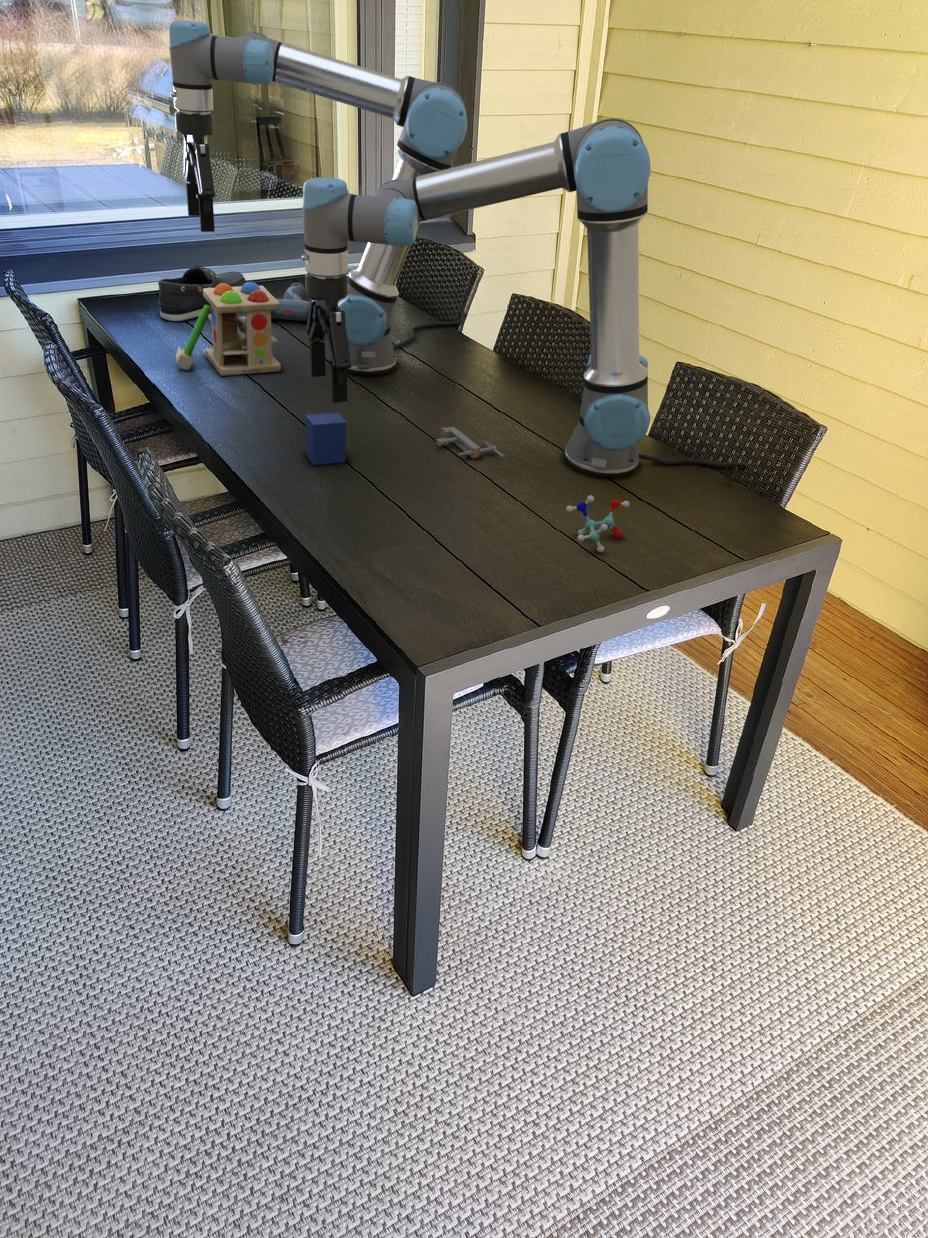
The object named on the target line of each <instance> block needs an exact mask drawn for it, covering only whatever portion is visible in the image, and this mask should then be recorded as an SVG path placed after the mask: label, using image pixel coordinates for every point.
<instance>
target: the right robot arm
mask: <svg viewBox="0 0 928 1238" xmlns="http://www.w3.org/2000/svg"><path fill="white" fill-rule="evenodd" d="M650 176H651V158H650V154H649V151H648V148H647V146H646V144H645V142H644V140H643V137H642V135H641V133H640V132H639V131H638V129H637V128H636V127H635V126H634V125H633V124H631V123H630V122H628V121H626V120H624V119H622V118H615V117H613V118H612V117H611V118H604V119H601V120H597V121H595V122H592V123H589V124H587V125H584V126H582V127H577V128H575V129H572V130H568V131H564V132H561V133H558V135H557V136H556V138H555V139H554V141H551V142H548V143H544V144H541V145H535V146H531V147H528V148H524V149H520V150H516V151H511V152H508V153H503V154H500V155H497V156H492V157H489V158H488V157H487V158H484V159H480V160H477V161H473V162H469V163H465V164H461V165H456V166H453V167H452V166H451V167H450V168H448V169H444V170H440V171H436V172H432V173H428V174H424V175H421V176H417V177H414V178H409V179H405V180H402V179H393V180H392V179H390V180H388V181H385V182H384V183H383V184H382V185H380V187H379V188H377V191H376V193H374V195H363V194H353V193H349V190H348V185H347V182H346V181H345V180H344V179H342V178H341V179H340V178H335V177H327V176H325V177H324V176H321V177H320V176H319V177H312V178H309V179H308V180H306V181H305V182H304V184H303V188H302V190H303V191H302V194H303V195H302V207H301V211H302V219H303V240H304V241H303V242H304V246H303V247H304V254H301V255H302V256H301V260H302V261H304V267H305V269H304V271H306V274H305V276H304V283H305V285H304V286H305V288H306V297H308V298H309V302H310V305H309V313H308V321H306V323H307V324H306V330H305V334H306V335H307V336H308V341H309V349H310V351H309V353H310V377H312V378H318V377H319V378H320V377H326V376H327V375H326V371H327V369H326V342H325V341H327V343H328V348H329V353H330V357H331V361H332V364H330V366H329V370H330V373H331V377H330V378H331V402H332V403H333V404H337V403H347V402H348V373H347V368H351V359H350V352H349V345H348V338H347V331H346V323H345V312H344V311H341V310H340V308H339V307H338V301H339V300H341V299H344V298H345V297H347V295H348V277H347V276H346V273H347V272H348V266H349V248H348V242H358V243H366V244H368V243H377V244H387V245H392V246H397V245H411V246H412V245H413V244H414V243H415V241H416V239H417V238H416V237H417V233H418V229H417V224H418V222H420V223H422V222H425V221H428V220H432V219H437V218H441V217H445V216H449V215H454V214H458V213H462V212H466V211H471V210H475V209H479V208H483V207H488V206H492V205H496V204H500V203H504V202H508V201H509V202H510V201H514V200H517V199H521V198H525V197H530V196H534V195H539V194H542V193H548V192H550V191H551V192H552V191H555V190H559V189H562V190H564V191H566V192H567V193H573V192H575V193H576V215H577V217H576V218H577V221H579V222H580V223H581V224H582V225H583V226H584V227H585V229H586V243H587V244H586V245H587V270H588V272H587V273H588V274H587V275H588V301H589V302H588V303H589V307H588V308H589V332H590V333H589V334H590V335H589V336H590V354H589V356H588V360H587V363H586V364H585V365H586V366H585V367H586V370H585V371H584V373H583V392H582V398H581V405H580V410H579V417H578V421H577V424H576V427H575V429H574V430H573V433H572V434H571V436H570V438H569V440H568V441H567V443H566V446H565V448H564V454H563V460H564V462H565V463H566V464H567V465H568V466H569V467H570V468H571V469H573V470H574V471H577V472H579V473H581V474H585V475H588V476H592V477H596V478H605V479H607V478H608V479H616V478H617V479H619V478H624V477H629V476H630V475H632V474H634V473H635V472H636V471H637V469H638V468H639V467H638V466H639V461H640V460H644V461H649V462H654V463H657V464H660V465H669V466H670V465H682V464H683V465H684V464H697V465H702V466H708V467H714V468H725V469H726V468H732V467H737V466H738V465H736V464H737V462H736V461H737V460H734V461H729V462H719V461H711V460H705V459H699V458H698V459H697V458H678V459H665V458H659V457H656V456H652V455H649V454H648V455H647V454H643V453H639V448H638V444H639V443H641V441H643V439H644V438H645V436H646V435H647V433H648V431H649V427H650V423H651V414H650V410H649V370H648V368H649V361H648V359H647V358H646V357H645V356H643V355H641V354H640V252H639V251H640V249H639V247H640V246H639V242H640V241H639V239H640V237H639V234H640V233H639V226H640V223H641V222H642V221H643V220H644V218H645V217H646V216H647V215H648V212H649V209H648V208H649V181H650ZM336 324H337V325H336ZM341 361H343V362H341ZM739 466H741V467H743V468H744V469H745V470H751V467H750V466H749V467H750V468H749V467H747V466H745V465H739Z"/></svg>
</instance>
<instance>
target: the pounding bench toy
mask: <svg viewBox="0 0 928 1238" xmlns="http://www.w3.org/2000/svg"><path fill="white" fill-rule="evenodd" d="M203 296H204V297H205V299H206V300H207V301H208V302H209V304H210V305H211V307H210V306H208V305H204V307H203V309H202V311H201V314H200V316H198V318H197V320H196V322H195V324H194V327H193V329H192V331H191V332H190V333H191V334H190V336H189V338H188V340H187V343H186V344H185V347H184V348H182V347H180V346H179V347H178V349H177V351H176V354H175V357H174V358H175V362H176V365H177V366H178V368H179V369H182V370H185V371H189V370H190V369H191V367H192V365H193V363H194V356H193V351H194V348H195V347H196V345H197V342H198V340H199V337H200V336H201V333H202V332H203V329H204V326H205V325H206V322H207V320H209V321H210V322H211V336H212V337H211V338H212V339H211V340H212V348H205V349H204V352H205V353H204V355H205V357H206V359H208V361H209V363H210V364H211V365H212V366H213V367H214V369H215V370H216V371H217V372H218V374H219V375H220V376H222V377H223V376H234V375H235V376H236V375H246V374H247V375H250V374H262V373H275V372H281V370H282V364H281V363H280V362H279V360H278V359H277V358H276V357H275V356H274V355H273V348H272V347H273V345H272V344H276V343H278V342H279V341H278V339H277V338H276V337H275V336H274V334H272V318H271V310H280V303H279V302H278V301H277V300H276V299H277V298H276V297H274V296H273V295H272V294H271V293H270V292H269V290H268V289H267V288H266V287H264V285H259V284H257V283H256V282H255V281H246V283H245V284H244V285H243V286H242V287H231V286H230V285H228V284H226V283H221V284H218V285H217V286H216V287H215V288H204V289H203ZM210 310H211V311H210ZM238 313H244V314H245V315H244V316H238ZM238 329H239V331H240V333H239V334H238Z"/></svg>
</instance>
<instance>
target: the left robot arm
mask: <svg viewBox="0 0 928 1238" xmlns="http://www.w3.org/2000/svg"><path fill="white" fill-rule="evenodd" d="M168 32H169V33H168V34H169V35H168V36H169V46H168V50H169V55H170V66H171V67H170V68H171V79H172V89H173V91H171V92H170V93H169V94H170V97H171V98H173V105H174V108H175V109H176V111H175V113H174V123H175V130H176V132H177V133H178V134H180V135H182V137H183V172H182V175H183V177H184V180H185V188H186V202H187V215H188V217H199V224H200V226H199V227H200V232H201V233H215V232H216V231H215V229H216V228H215V212H214V198H215V197H216V192H215V186H214V185H215V184H214V179H213V171H212V163H211V157H210V145H209V143H205V136H212V135H213V134H214V133H215V119H214V118H215V116H214V115H213V113H212V111H214V94H213V91H214V90H213V83H212V81H214V80H215V81H226V82H234V83H244V84H251V85H253V86H254V85H255V86H256V85H269V84H271V83H275V84H276V83H277V84H280V85H283V86H286V87H289V88H293V89H297V90H299V91H302V92H305V93H308V94H313V95H315V96H318V97H322V98H325V99H328V100H331V101H335V102H338V103H341V104H345V105H348V106H351V107H354V108H357V109H361V110H364V111H367V112H370V113H373V114H377V115H380V116H383V117H386V118H390V119H392V120H393V121H394V122H395V123H394V124H396V126H398V127H402V130H401V132H400V135H399V138H398V141H397V143H396V151H397V153H398V156H399V160H398V162H397V165H396V168H395V170H394V173H393V175H392V178H391V180H393V179H402V180H405V179H409V178H414V177H417V176H421V175H424V174H428V173H432V172H436V171H440V170H444V169H448V168H452V165H453V162H454V159H455V157H456V155H457V153H458V150H459V148H460V147H461V146H462V145H463V143H464V141H465V138H466V135H467V132H468V121H469V120H468V114H467V111H468V110H467V106H466V103H465V100H464V98H463V96H462V95H461V94H460V93H459V91H458V90H457V89H455V88H454V87H453V86H452V85H449V84H447V83H443V82H438V81H433V80H432V81H431V80H427V79H422V78H418V77H414V76H411V75H406V76H404V77H403V78H399V77H396V76H392V75H389V74H386V73H383V72H381V71H376V70H373V69H370V68H366V67H363V66H360V65H357V64H355V63H350V62H347V61H344V60H341V59H338V58H334V57H331V56H328V55H324V54H322V53H318V52H315V51H312V50H308V49H305V48H303V47H299V46H295V45H293V44H289V43H285V42H281V41H279V40H275V39H272V38H269V37H268V36H266V35H265V34H264V33H260V32H256V31H252V32H248V33H245V34H244V35H242V36H240V37H230V36H218V35H214V34H211V32H210V28H209V24H207V23H206V22H202V21H195V20H184V19H182V20H180V19H179V20H178V19H177V20H173V21H172V22H171V23H169V27H168ZM420 223H421V222H418V224H417V230H418V229H419V226H420ZM411 246H412V245H397V246H392V245H387V244H377V243H366V246H365V249H364V252H363V255H362V257H361V260H360V263H359V264H358V265H348V272H347V273H346V276H347V277H348V295H347V297H345V298H344V299H341V300H339V301H338V307H339V308H340V310H341V311H344V312H345V323H346V331H347V338H348V345H349V352H350V359H351V368H347V374H352V375H356V376H380V375H381V376H382V375H386V374H389V373H391V372H393V371H395V369H396V368H397V361H398V359H397V354H396V352H395V349H399V348H401V347H404V346H406V345H408V344H409V343H411V342H412V341H413V340H414V339H415V333H414V332H415V331H417V330H420V329H425V328H433V327H450V326H452V327H453V326H458V325H460V324H462V323H463V322H464V320H465V317H466V316H467V314H466V311H464V310H461V315H460V319H458V320H455V321H436V322H428V323H421V324H417V325H415V326H413V327H411V328H410V330H409V334H410V336H409V337H408V338H406V339H405V340H403V341H400V342H398V343H396V344H394V343H393V341H392V337H391V336H392V335H391V321H392V313H393V310H394V307H395V305H396V303H397V300H398V297H399V295H400V293H399V290H398V287H397V281H398V279H399V276H400V273H401V271H402V268H403V266H404V263H405V261H406V258H407V256H408V253H409V251H410V249H411ZM336 325H337V324H336ZM341 362H343V361H341Z"/></svg>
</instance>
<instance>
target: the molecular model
mask: <svg viewBox="0 0 928 1238" xmlns="http://www.w3.org/2000/svg"><path fill="white" fill-rule="evenodd" d="M594 501H595V497H594V496H593V495H588V496H587V498H586V500H585V501H579V502H578V503H577V505H575V506H572V505H567V506H566V508H565V510H566V512H567V513H572V512H573V511H578V512H581V513H582V515H583V517H584V519H585V520H586V522H585V525H584V526H585V527H584V528H583V529H582V528H581V529H579V530H578V531H577V535H578V536H577V539H576V540H577V541H578V542H580V543H582V542H584V541H585V540H589V539H590V541H593V542H595V544H596V547H597V548H596V549H597V552H598V553H599V554H600V553H604V551H605V547H604V546H603V545H602V544H601V542H600V540H599V539H600V534H601V533H602V532H605V531H607V530H608V528H609V529H610V530H611V532H612V533H613V537H614V538H615V539H617V540H618V539H621V538H622V537H623V532H622V531H621V530H620V529H619V528H618V527H617V526H616V525H615V519H614V518H613V515H614V513H615V510H616V509H617V508H619V507H623V508H624V509H625V508H627V509H628V508H629V507H630V501H628V500H624V501H623V502H621V501H619V500H617V499H615V498H614V499H612V500H611V501H610V502H609V506H610V510H609V514H608V516H605V517H604V519H603V520H598V521H595V520H594V519H591V518H590V516H589V514H588V512H587V511H586V510H587V509H588V506H587V505H588V504H589V503H593V502H594ZM596 526H600V527H599V529H597V530H595V528H596ZM588 530H589V531H590V532H589V534H587V535H585V533H586V532H587V531H588Z"/></svg>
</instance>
